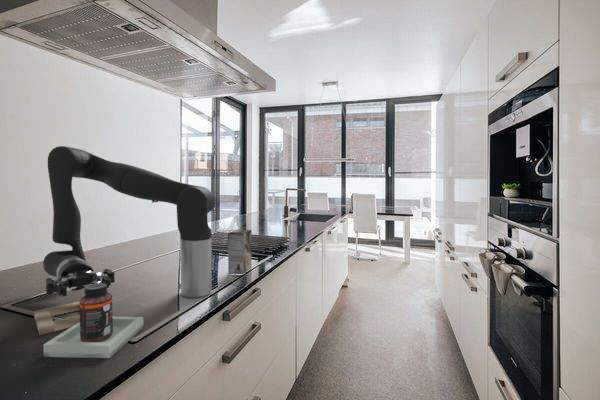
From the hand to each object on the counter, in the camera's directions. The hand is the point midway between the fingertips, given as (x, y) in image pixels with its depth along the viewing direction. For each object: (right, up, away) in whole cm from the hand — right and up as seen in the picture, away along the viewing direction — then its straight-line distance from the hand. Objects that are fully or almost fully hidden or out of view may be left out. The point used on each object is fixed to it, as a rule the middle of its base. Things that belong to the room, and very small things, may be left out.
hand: (86, 287), depth 75 cm
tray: (+7, -9, -7) cm, 14 cm away
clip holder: (-7, -9, +4) cm, 12 cm away
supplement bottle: (+7, -9, -7) cm, 14 cm away
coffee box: (+28, -7, +45) cm, 54 cm away
